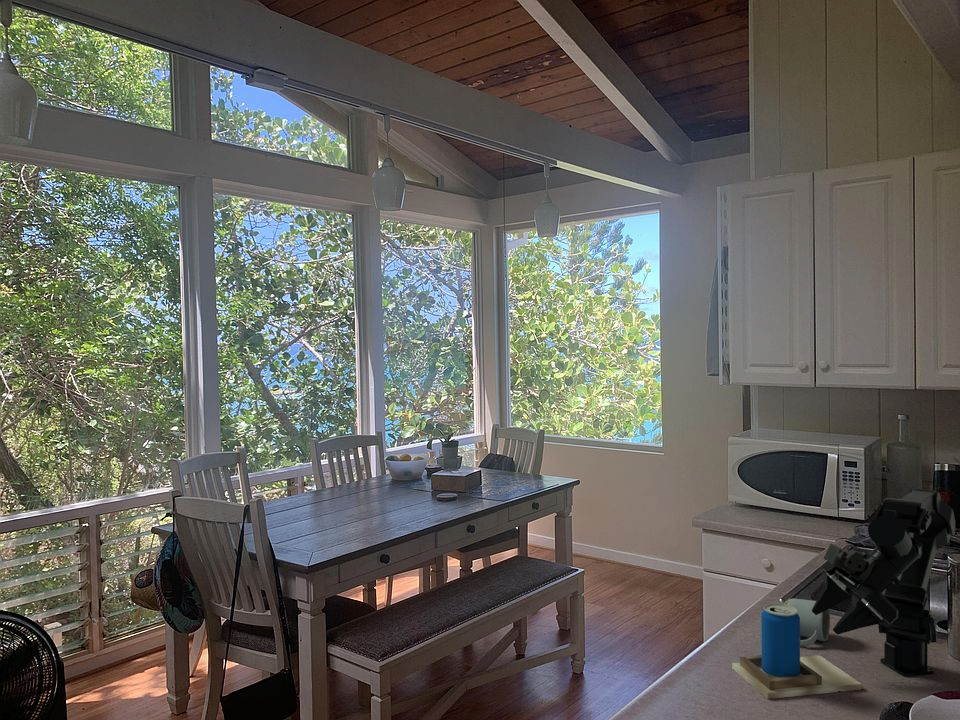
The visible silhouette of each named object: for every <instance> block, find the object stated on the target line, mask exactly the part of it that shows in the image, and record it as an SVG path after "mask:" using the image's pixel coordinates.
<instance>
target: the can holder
mask: <svg viewBox="0 0 960 720" xmlns="http://www.w3.org/2000/svg"><path fill="white" fill-rule="evenodd" d="M731 665H732V667H731V668H732V670H734V671H735V672H736V673H737V675H739V676H740V677H742V679H744V680H745V682H747V683H748V684H749V685H751V686H752V687H753V688H754V689H755V690H756V691H757V692H759V693H760V694H761V695H762V696H764V697H765V698H766V699H767V700H771V699H772V700H773V699H780V698H781V699H782V698H789V697H800V696H801V697H802V696H809V695H810V696H811V695H818V694H819V695H820V694H829V693H839V692H838V691H841V692H850V691H859V690H862V683H861V682H859V680H857V679H855V678H854V677H852V676H851V675H849V674H848V673H847V672H844V671H843V670H842V669H840V668H839V667H837V666H836V665H834V663H833V664H832V663H831V662H830V661H829V660H827V659H825V658H824V657H822V656H821V655H808V656H807V655H806V656H800V675H799V676H791V677H781V678H771V677H769V676H768V675H767V674H766V673H765V672H764V671H763V670H762V654H760V655H749V656H748V655H747V656H741V657H739V662H732V664H731Z"/></svg>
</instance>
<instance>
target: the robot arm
mask: <svg viewBox="0 0 960 720" xmlns="http://www.w3.org/2000/svg"><path fill="white" fill-rule="evenodd" d="M871 519H872V520H871V522H870V523H869V524H868V527H867V533H868V536H869V538H870V540H871V541H872V543H873V544H874V546H875V548H873V550H871V551H870V552H867V551H861V552H859V551H856V550H854V549H850V550H847V549H845V548H842V547H840V546H838V545H836V544H833V543H830V544H829V547H828V549H827V550H826V553H825V555H824V557H823V560H825V563H823V565H821V567H820V568H821V569H822V571H821V575H822V579H823V586H822V588H821V590H820V593H819V595H818V596H817V599H816V600H815V601H816V602H815V604H814V606H813V608H812V612H813V613H814V614H815V615H818V614H820V613H822V612H824V611H826V610H828V609H829V610H830V609H832V608H833V607H836V606H837V605H838V606H839V604H841V603H844V602H845V601H848V600H849V599H851V606H850V607H849V608H848V609H847V611H846V612H845V613H844V614H843V616H842V617H841V618H840V619H839V620H838V621H837V623H836V624H835V626H834V627H833V629H832V631H833V632H834V633H835V634H836V635H841V634H845V633H848V632H852V631H855V630H858V629H861V628H863V629H864V628H866V627H867V628H868V627H872V626H875V625H876V626H877V625H878V633H880V634H885V641H884V644H883V646H884V647H883V648H884V649H883V651H884V652H883V653H884V654H883V655H884V656H883V657H882V658H879V661H880V663H881V664H883V665H886V666H887V667H888V668H890V669H891V670H894V671H895V672H897V673H898V674H900V675H902V676H908V677H909V676H917V675H927V674H934V673H935V669H933V668H932V667H930V666H928V658H929V657H928V647H929V646H928V645H930V644H931V643H937V642H938V632H937V631H938V630H937V625H936V619H934V616H933V612H932V610H930V604H929V598H928V596H927V587H928V583H929V580H930V576H931V573H932V570H933V569H932V568H933V566H934V561H935V557H936V554H937V550H940V549H942V548H943V547H946V546H948V545H949V543H950V540H951V537H952V536H954V535H955V532H956V518H955V514H954V509H953V507H951V506H950V505H949V504H947V503H946V501H944V500H943V499H942V498H941V494H940V491H937V490H934V489H925V488H924V489H923V488H916V487H915V488H913V489H911V488H910V489H909V493H907V494H906V495H905V496H903V497H902V498H894V497H885V498H884V499H883V501H882V502H881V503H879V504H878V506H877V509H876V511H875V513H874V514H873V517H872V518H871ZM899 576H900V578H898V577H899ZM883 592H884V594H883ZM850 595H851V596H850ZM857 595H858V596H859V597H860V598H859V597H858V596H857Z"/></svg>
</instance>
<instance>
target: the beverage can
mask: <svg viewBox="0 0 960 720" xmlns="http://www.w3.org/2000/svg"><path fill="white" fill-rule="evenodd" d="M760 618H761V620H760V621H761V624H760V625H761V655H762V670H763V671H764V672H765V673H766V674H767V675H768V676H769V677H771V678H781V677H791V676H799V675H800V657H801V647H800V640H801V636H800V617H799V615H798V614H797V610H796V609H795V608H793V607H791V606H788V605H784V604H783V603H769V604H766V605H764V606H763V611H761V617H760Z"/></svg>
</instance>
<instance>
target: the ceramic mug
mask: <svg viewBox="0 0 960 720" xmlns="http://www.w3.org/2000/svg"><path fill="white" fill-rule="evenodd" d="M815 602H816V600H810V599H800V598H788V599H786V600H785V602H783V603H784V605H788V606H791V607H793V608H795V609H796V610H797V614H798V615H799V617H800V637H803V638H806V639H800V646H802V648H803V647H805V648H806V647H809V646H812V645H813V644H815V642H816V641H821V642H826V641H827V640H828V639H829V635H830V629H831V614H830V613H831V612H830V609H828V610H826V611H824V612H822V613H820V614H818V615H815V614H814V613H813V612H812V608H813V606H814V604H815Z"/></svg>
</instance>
